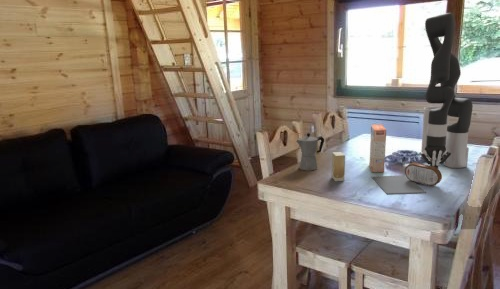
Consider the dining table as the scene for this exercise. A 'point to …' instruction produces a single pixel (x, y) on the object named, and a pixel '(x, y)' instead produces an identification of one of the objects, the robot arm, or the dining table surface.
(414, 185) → the mat
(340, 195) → the dining table surface
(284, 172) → the dining table surface
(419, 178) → the tin
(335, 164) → the skincare box
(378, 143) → the cracker box
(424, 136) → the cylinder vase
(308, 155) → the coffeepot
